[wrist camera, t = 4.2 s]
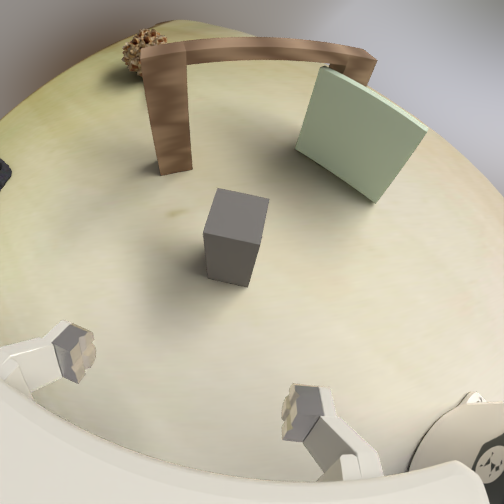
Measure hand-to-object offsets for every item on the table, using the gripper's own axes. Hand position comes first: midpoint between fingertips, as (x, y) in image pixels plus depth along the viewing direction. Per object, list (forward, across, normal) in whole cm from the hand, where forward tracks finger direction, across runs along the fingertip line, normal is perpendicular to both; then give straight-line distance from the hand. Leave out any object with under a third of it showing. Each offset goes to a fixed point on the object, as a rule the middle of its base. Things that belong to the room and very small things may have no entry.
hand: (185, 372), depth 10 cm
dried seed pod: (+42, +23, -21) cm, 52 cm away
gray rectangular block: (+18, 0, +3) cm, 18 cm away
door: (+30, -11, -9) cm, 33 cm away
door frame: (+30, +1, -9) cm, 31 cm away
